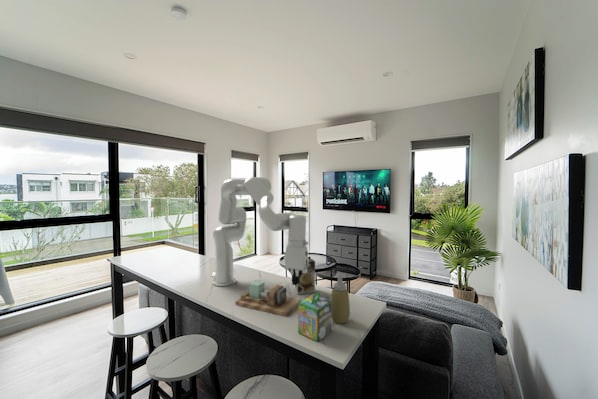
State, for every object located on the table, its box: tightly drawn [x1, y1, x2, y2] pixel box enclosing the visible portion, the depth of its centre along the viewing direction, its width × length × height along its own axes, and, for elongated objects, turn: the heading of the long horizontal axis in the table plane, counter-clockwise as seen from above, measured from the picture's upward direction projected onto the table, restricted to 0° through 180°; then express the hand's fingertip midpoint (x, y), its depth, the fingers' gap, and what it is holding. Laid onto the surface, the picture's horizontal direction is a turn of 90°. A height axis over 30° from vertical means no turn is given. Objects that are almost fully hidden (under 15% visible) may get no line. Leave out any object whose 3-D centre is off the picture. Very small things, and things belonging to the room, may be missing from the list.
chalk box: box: [297, 290, 333, 343], centre depth 93 cm, size 9×9×15 cm
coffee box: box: [294, 258, 316, 295], centre depth 130 cm, size 9×6×16 cm
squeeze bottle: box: [330, 274, 351, 325], centre depth 101 cm, size 8×8×18 cm
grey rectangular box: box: [261, 286, 287, 305], centre depth 115 cm, size 11×6×6 cm, turn 66°
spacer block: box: [248, 280, 265, 299], centre depth 118 cm, size 5×5×7 cm
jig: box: [235, 284, 302, 317], centre depth 116 cm, size 26×14×7 cm, turn 66°
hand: (295, 283), depth 113 cm, fingers closed
